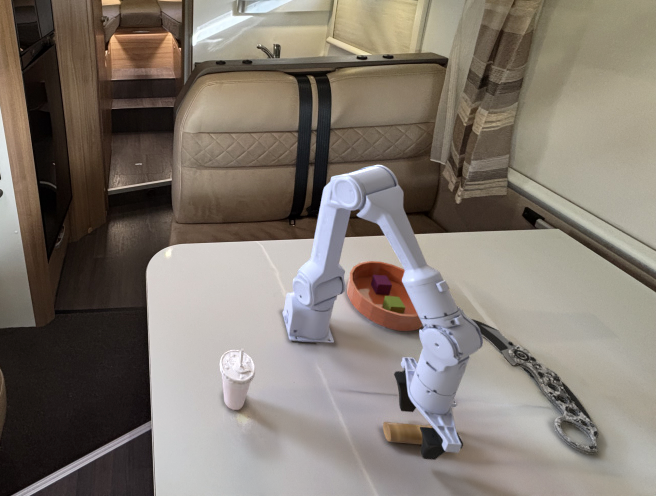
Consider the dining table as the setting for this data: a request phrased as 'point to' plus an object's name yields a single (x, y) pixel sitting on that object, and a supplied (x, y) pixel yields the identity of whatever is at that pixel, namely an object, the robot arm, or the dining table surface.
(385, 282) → the chunk
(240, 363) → the smoothie
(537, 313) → the dining table surface
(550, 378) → the knife
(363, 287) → the bowl
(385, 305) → the chunk
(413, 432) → the stick
